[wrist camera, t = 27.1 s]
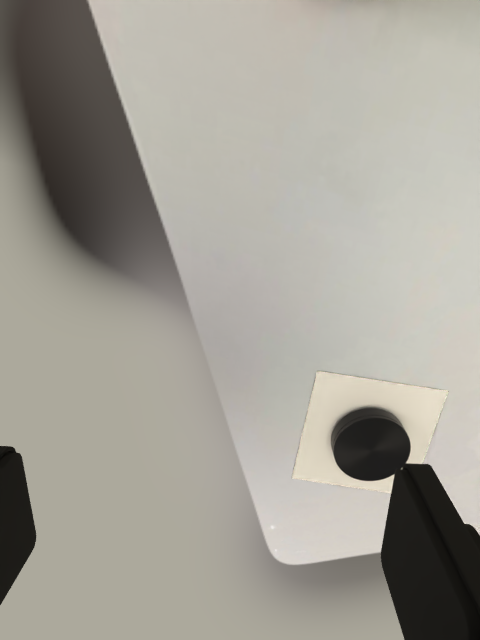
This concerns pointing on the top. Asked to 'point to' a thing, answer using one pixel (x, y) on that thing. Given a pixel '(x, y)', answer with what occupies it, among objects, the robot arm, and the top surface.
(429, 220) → the top surface
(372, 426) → the jar lid
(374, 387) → the cream paper sheet
